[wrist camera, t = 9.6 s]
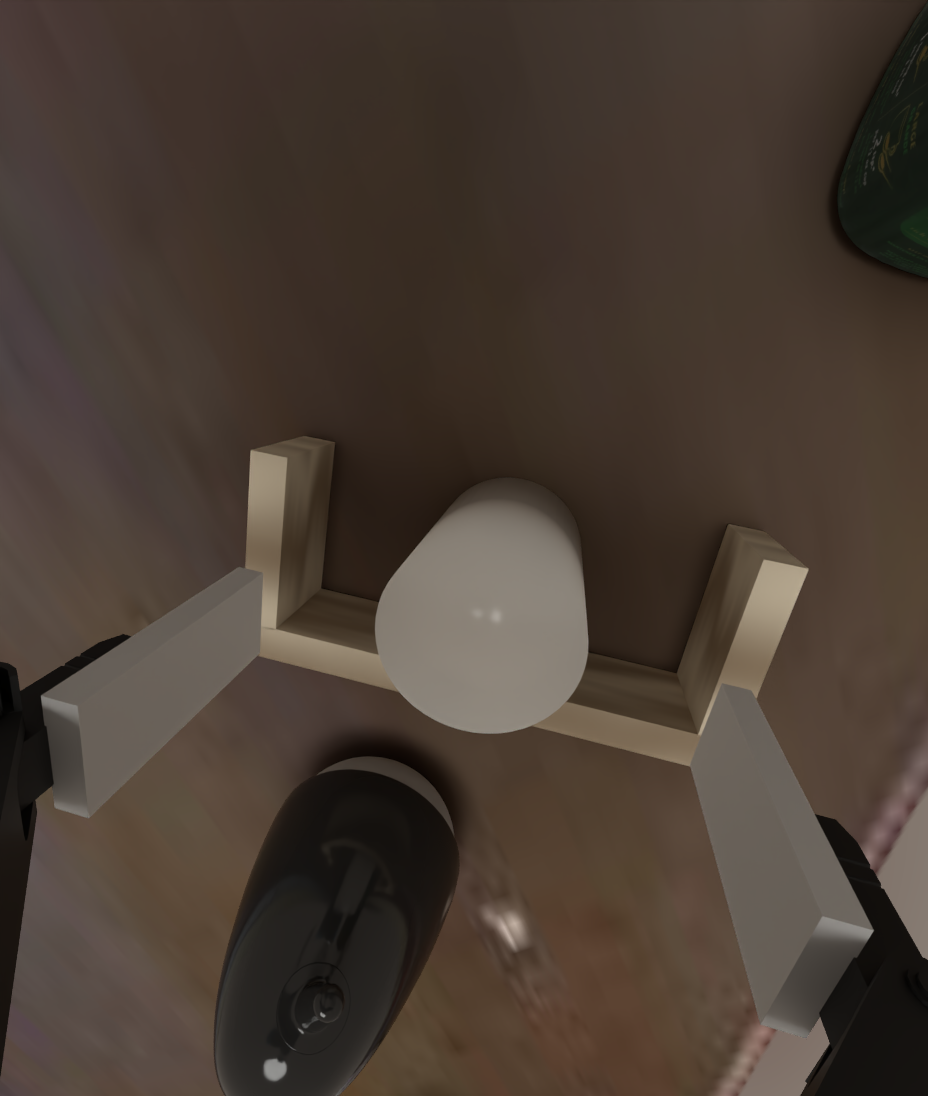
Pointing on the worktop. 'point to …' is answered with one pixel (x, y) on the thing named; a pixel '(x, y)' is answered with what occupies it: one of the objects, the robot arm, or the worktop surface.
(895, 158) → the coffee jar
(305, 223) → the worktop surface
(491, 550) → the white domed cylinder
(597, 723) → the rest cradle
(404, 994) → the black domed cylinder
